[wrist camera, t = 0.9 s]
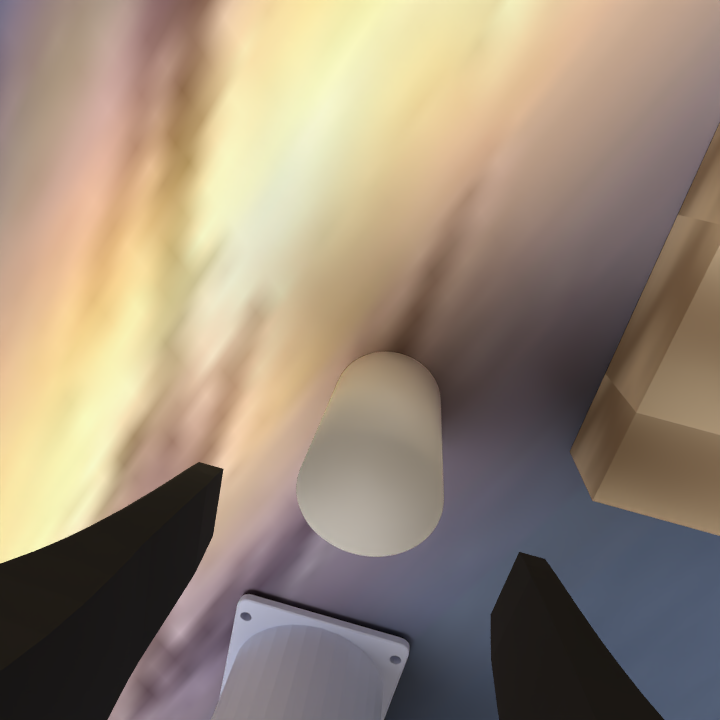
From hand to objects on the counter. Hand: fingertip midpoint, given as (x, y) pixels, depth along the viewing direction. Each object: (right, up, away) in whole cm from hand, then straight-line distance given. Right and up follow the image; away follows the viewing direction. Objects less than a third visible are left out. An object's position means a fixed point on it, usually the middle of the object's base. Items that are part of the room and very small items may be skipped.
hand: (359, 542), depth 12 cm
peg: (+1, +3, +7) cm, 8 cm away
